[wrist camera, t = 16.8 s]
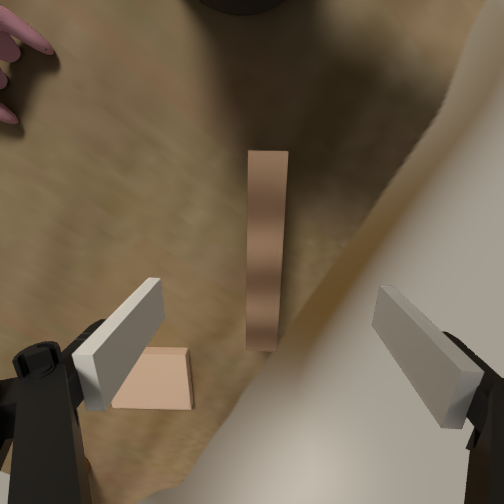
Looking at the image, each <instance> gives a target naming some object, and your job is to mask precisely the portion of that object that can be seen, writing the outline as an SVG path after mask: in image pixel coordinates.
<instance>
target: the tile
mask: <svg viewBox="0 0 504 504" xmlns="http://www.w3.org/2000/svg"><path fill="white" fill-rule="evenodd" d="M111 402H112V406H113V408H139V409H181V410H191V408H192V405H193V392H192V382H191V372H190V362H189V352H188V348H166V347H146V348H145V350H144V351H143V353H142V354H141V356H140V357H139V359H138V361H137V362H136V364H135V365H134V367H133V368H132V370H131V372H130V373H129V375H128V376H127V378H126V379H125V381H124V383H123V384H122V386H121V387H120V389H119V390H118V392H117V394H116V395H115V397H114V398H113V400H112V401H111Z"/></svg>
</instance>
